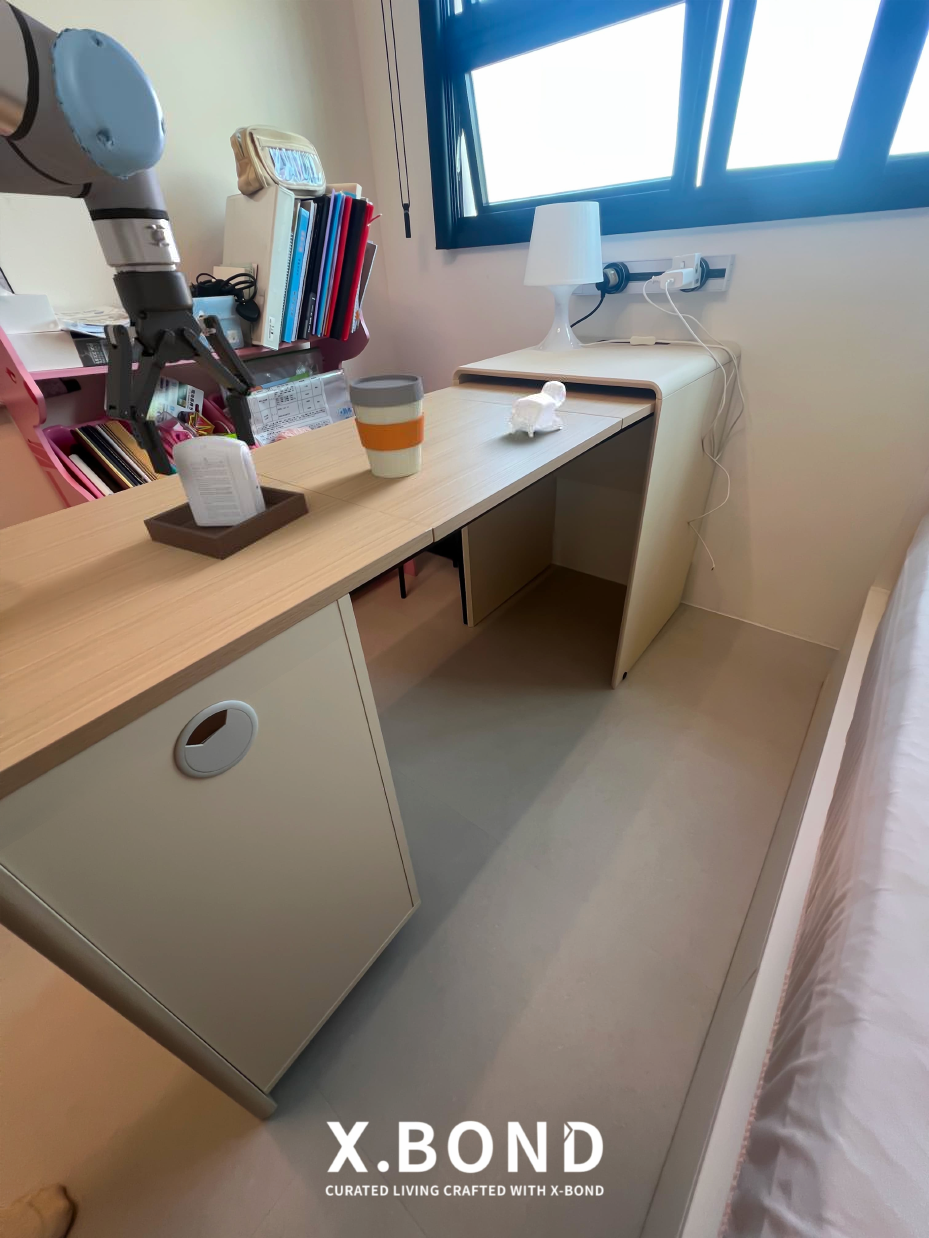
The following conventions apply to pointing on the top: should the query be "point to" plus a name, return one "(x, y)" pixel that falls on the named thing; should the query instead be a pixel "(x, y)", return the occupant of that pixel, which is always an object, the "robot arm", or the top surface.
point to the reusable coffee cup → (390, 422)
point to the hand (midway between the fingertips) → (208, 458)
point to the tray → (226, 540)
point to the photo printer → (218, 480)
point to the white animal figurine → (538, 409)
